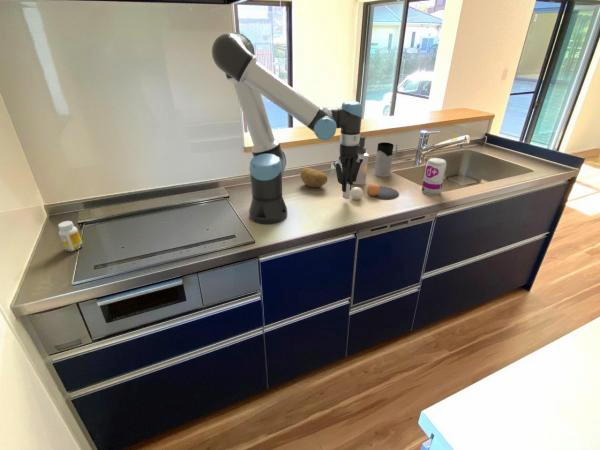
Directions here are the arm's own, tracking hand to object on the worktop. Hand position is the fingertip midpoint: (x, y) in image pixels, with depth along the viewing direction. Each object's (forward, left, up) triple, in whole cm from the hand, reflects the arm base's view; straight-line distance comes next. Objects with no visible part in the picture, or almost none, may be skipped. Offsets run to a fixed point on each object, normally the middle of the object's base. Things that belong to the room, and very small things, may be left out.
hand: (345, 197), depth 147 cm
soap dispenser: (+18, +17, -2) cm, 25 cm away
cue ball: (+5, 0, +1) cm, 6 cm away
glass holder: (+38, +20, -2) cm, 43 cm away
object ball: (+14, 0, +1) cm, 14 cm away
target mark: (+20, 0, -2) cm, 20 cm away
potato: (-4, +21, -2) cm, 21 cm away
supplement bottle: (-102, +12, -2) cm, 103 cm away
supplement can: (+40, -9, -2) cm, 41 cm away
